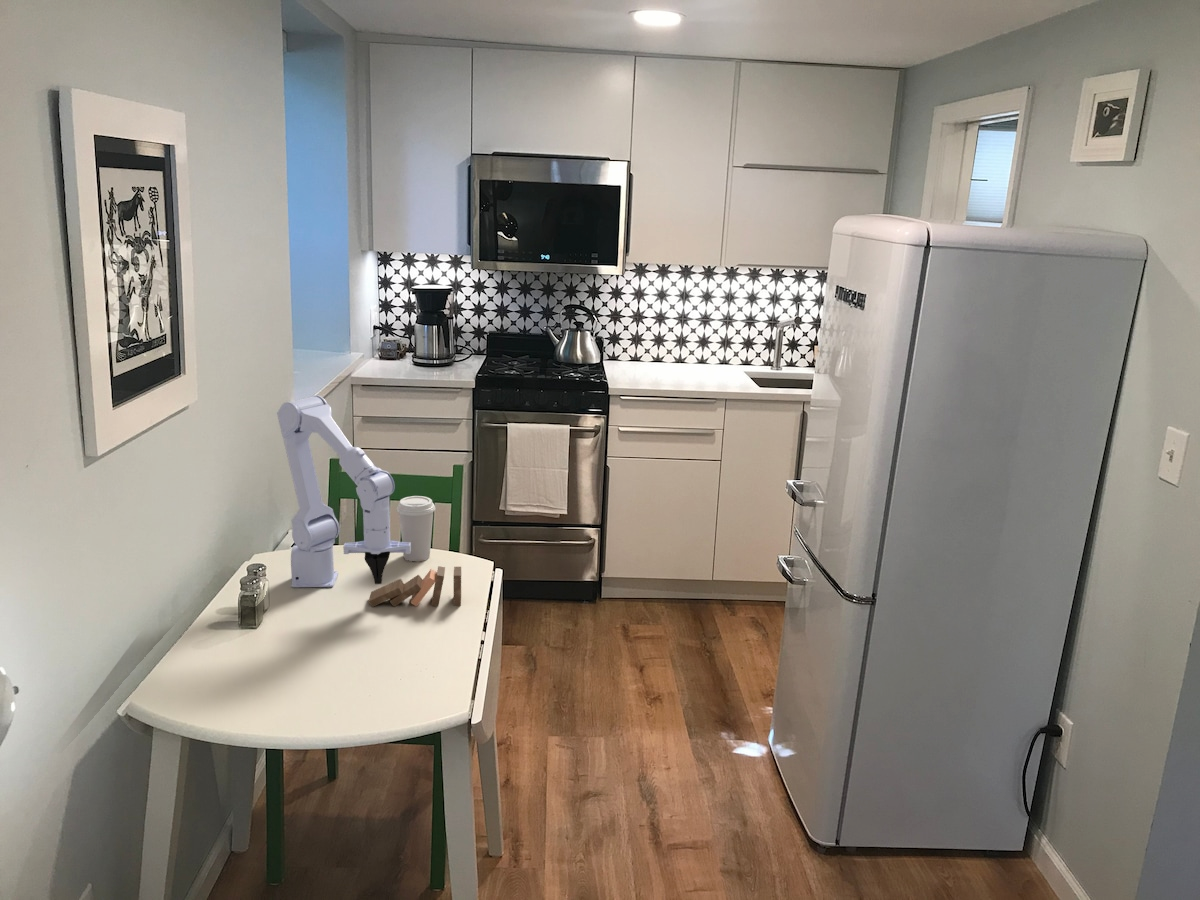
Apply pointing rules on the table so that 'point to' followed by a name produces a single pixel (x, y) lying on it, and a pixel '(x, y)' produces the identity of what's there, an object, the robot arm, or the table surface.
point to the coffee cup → (416, 525)
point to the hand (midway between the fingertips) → (378, 582)
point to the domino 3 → (424, 587)
